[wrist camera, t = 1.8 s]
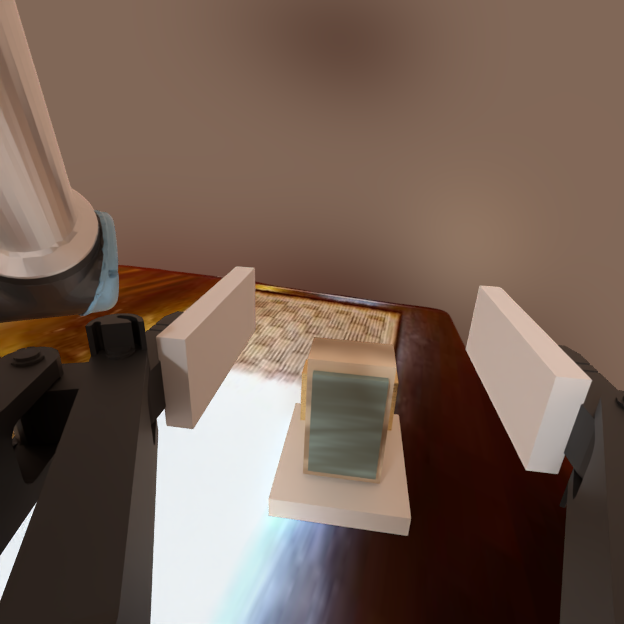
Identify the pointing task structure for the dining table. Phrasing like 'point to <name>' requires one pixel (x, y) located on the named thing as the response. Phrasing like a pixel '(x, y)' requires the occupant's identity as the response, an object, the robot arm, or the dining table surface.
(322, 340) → the wooden tall block
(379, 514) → the base
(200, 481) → the dining table surface
